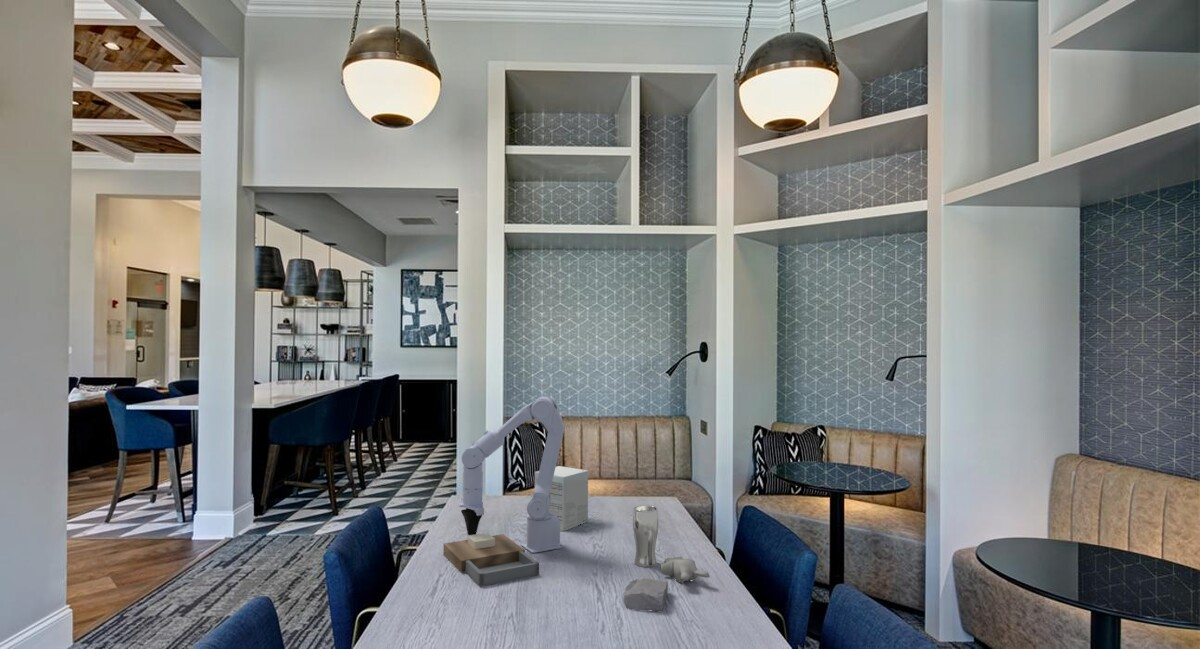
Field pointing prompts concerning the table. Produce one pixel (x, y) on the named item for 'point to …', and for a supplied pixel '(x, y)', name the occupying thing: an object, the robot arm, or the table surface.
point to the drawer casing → (482, 553)
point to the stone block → (646, 594)
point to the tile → (481, 541)
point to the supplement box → (569, 496)
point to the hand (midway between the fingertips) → (471, 534)
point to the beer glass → (645, 534)
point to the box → (503, 571)
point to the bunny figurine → (682, 569)
